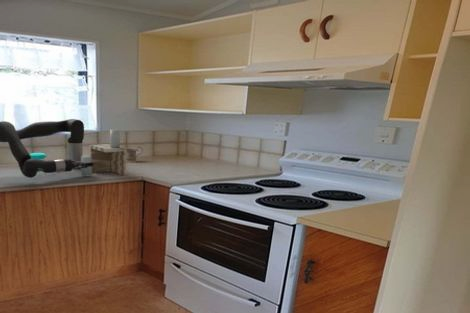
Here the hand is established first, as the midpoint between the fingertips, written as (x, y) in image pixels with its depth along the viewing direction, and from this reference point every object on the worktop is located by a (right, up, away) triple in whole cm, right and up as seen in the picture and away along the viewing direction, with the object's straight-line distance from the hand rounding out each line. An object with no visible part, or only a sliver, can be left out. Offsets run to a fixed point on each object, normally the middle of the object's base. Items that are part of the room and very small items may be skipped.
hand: (90, 163), depth 206 cm
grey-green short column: (-2, -7, -1) cm, 7 cm away
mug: (+9, 0, +58) cm, 59 cm away
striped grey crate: (+7, -7, +10) cm, 14 cm away
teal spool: (-40, -4, +13) cm, 43 cm away
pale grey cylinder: (+13, +10, +6) cm, 18 cm away
